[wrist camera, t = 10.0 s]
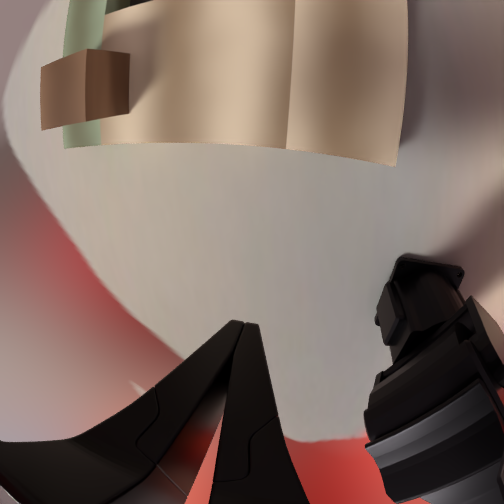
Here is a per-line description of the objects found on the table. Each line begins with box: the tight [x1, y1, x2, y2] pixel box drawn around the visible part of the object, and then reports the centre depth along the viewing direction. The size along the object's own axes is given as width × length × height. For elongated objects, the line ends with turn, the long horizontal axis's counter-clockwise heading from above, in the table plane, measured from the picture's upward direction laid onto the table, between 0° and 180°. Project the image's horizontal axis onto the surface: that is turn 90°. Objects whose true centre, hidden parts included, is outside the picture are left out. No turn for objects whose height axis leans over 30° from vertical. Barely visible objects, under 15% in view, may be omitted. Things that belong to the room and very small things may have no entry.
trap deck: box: [63, 0, 408, 167], centre depth 12 cm, size 22×16×3 cm
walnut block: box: [40, 49, 130, 130], centre depth 12 cm, size 4×4×4 cm
